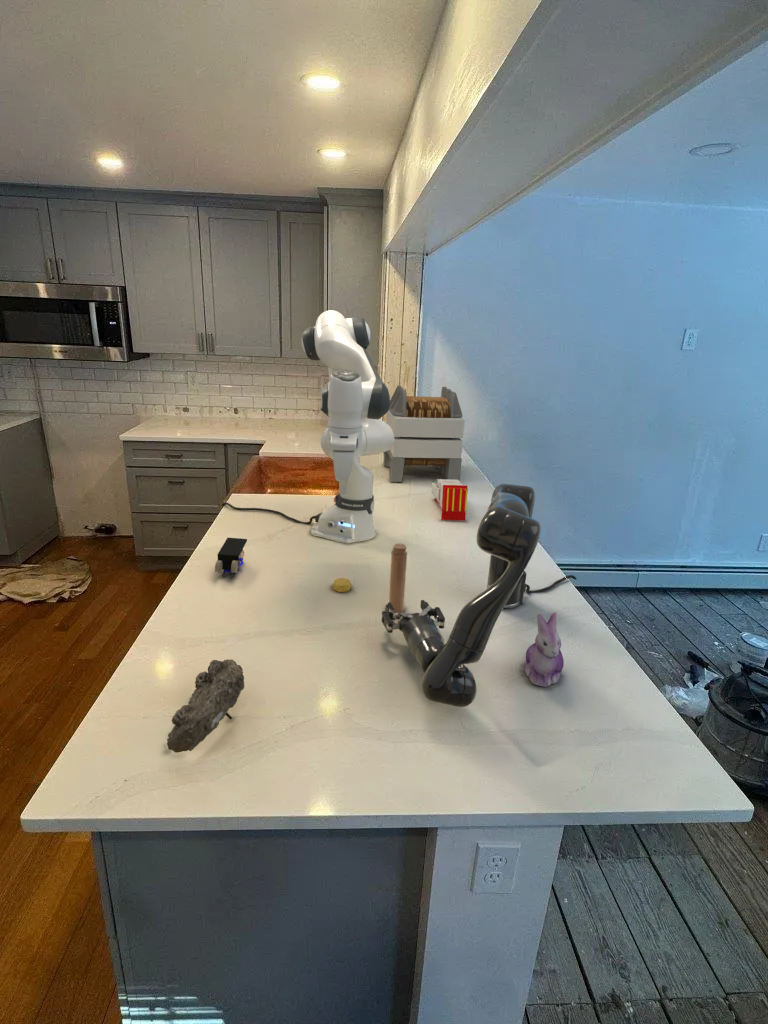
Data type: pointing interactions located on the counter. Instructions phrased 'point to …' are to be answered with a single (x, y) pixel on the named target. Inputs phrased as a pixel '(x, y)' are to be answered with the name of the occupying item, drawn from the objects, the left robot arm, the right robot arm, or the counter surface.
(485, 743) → the counter surface
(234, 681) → the fossil
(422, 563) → the counter surface
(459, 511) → the toy
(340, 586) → the lid
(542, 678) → the figurine
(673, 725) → the counter surface
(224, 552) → the black toy vehicle
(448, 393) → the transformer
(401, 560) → the bottle
